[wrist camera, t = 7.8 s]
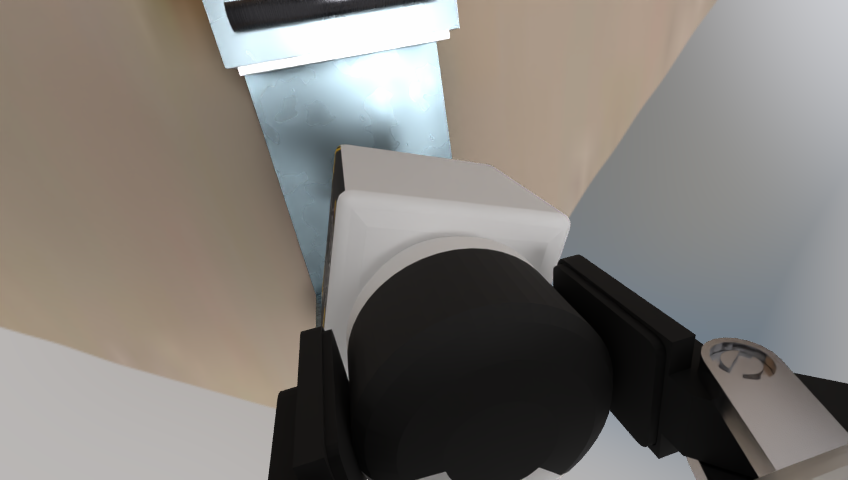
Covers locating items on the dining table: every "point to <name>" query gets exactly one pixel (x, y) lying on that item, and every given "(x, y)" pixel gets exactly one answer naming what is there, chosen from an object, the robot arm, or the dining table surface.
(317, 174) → the base
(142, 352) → the dining table surface
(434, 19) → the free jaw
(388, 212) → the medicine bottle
